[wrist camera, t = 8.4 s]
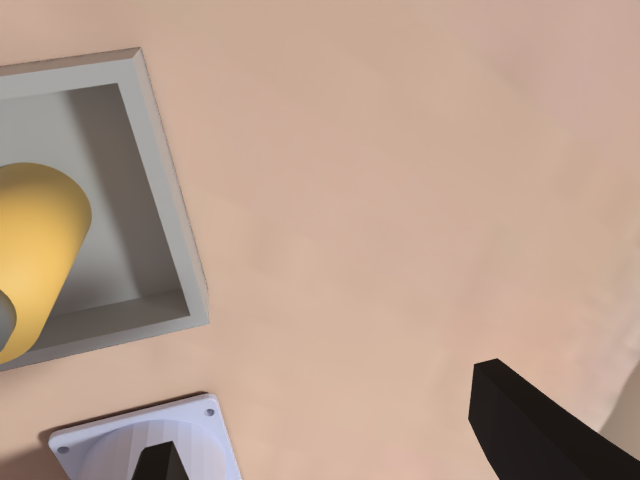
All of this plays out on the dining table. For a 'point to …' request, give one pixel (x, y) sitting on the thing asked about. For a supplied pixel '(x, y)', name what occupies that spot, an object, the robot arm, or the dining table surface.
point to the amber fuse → (35, 248)
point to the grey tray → (107, 200)
